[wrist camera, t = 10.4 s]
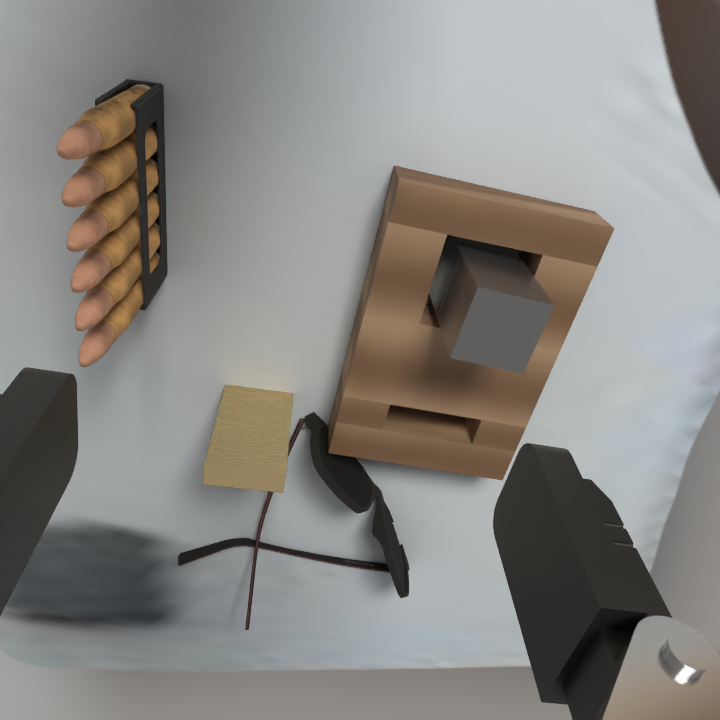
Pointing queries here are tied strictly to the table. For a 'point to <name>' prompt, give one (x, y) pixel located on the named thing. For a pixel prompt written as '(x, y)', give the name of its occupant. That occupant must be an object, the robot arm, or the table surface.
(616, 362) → the table surface
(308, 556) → the sunglasses
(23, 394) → the robot arm
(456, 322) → the square bit
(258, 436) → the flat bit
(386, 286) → the bore block
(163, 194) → the ammunition clip
